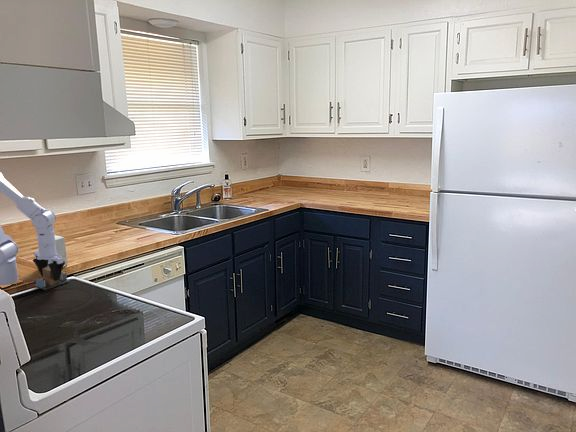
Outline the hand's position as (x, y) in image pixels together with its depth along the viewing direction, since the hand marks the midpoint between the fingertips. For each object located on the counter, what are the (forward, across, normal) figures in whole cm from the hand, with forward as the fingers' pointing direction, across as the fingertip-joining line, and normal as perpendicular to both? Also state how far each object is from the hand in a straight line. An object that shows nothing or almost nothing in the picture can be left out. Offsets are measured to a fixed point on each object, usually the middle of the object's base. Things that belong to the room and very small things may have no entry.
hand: (50, 277), depth 174 cm
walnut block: (+2, 0, 0) cm, 2 cm away
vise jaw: (+2, 0, -4) cm, 4 cm away
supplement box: (+3, -16, +12) cm, 20 cm away
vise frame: (+3, 0, 0) cm, 3 cm away
